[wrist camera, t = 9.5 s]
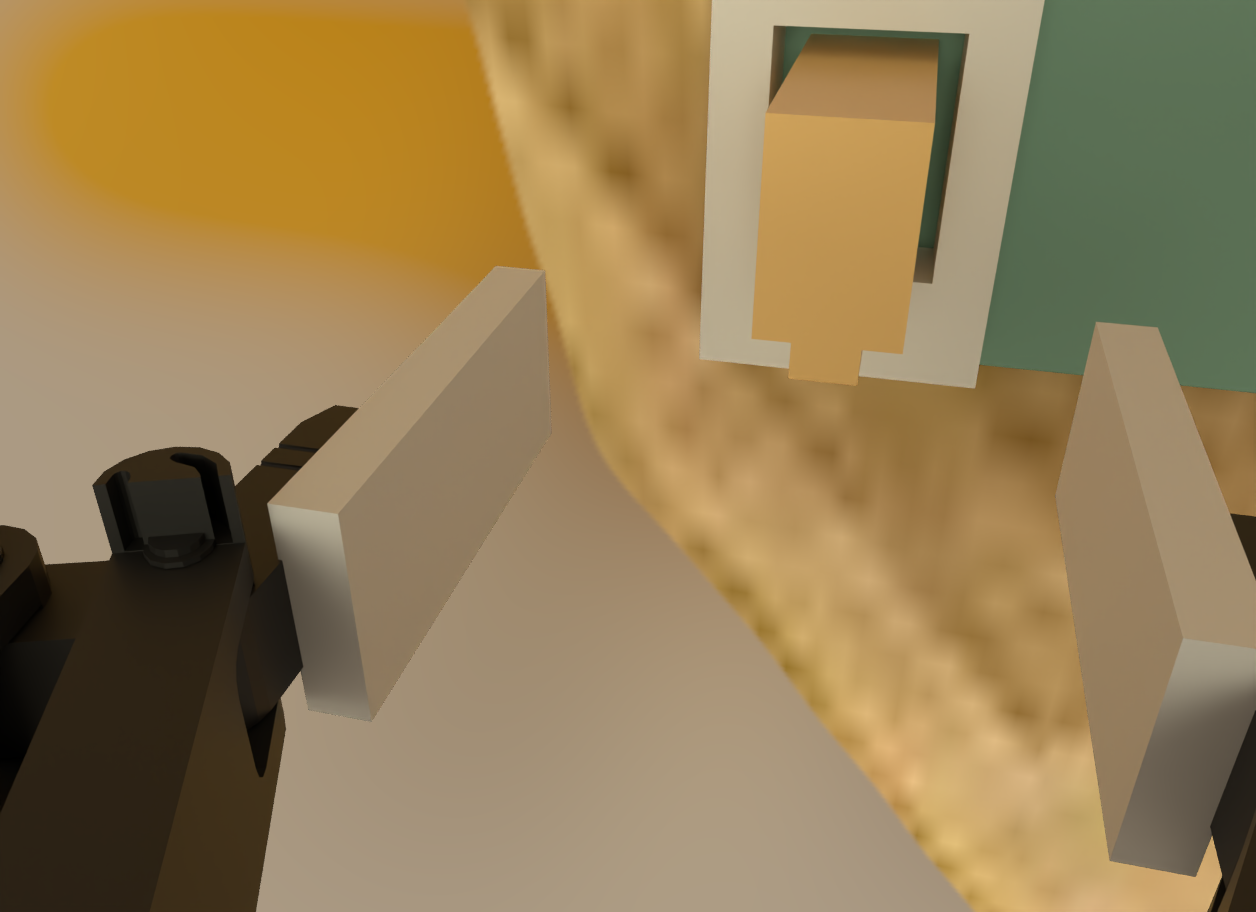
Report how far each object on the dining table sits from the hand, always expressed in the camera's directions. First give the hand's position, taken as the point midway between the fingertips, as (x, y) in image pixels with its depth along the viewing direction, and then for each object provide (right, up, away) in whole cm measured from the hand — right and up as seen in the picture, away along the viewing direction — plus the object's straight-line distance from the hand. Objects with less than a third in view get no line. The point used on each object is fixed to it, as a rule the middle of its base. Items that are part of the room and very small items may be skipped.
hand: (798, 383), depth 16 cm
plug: (+3, +7, +12) cm, 14 cm away
